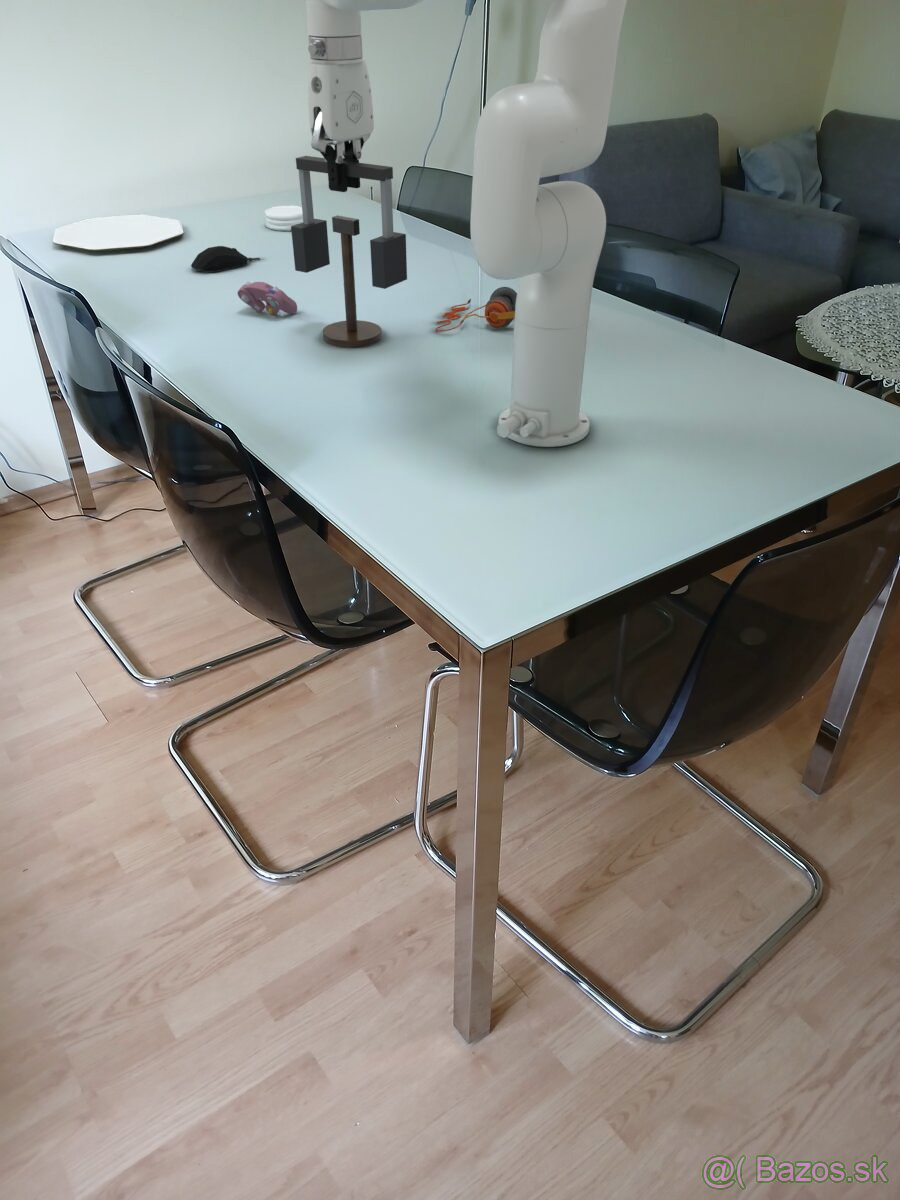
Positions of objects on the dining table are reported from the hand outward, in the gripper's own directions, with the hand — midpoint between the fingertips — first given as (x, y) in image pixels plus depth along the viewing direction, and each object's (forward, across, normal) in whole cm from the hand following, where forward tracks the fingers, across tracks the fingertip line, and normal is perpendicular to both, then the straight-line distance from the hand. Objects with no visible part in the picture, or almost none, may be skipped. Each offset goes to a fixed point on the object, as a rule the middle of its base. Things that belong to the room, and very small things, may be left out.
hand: (344, 187), depth 141 cm
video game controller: (+24, +1, +21) cm, 31 cm away
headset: (+13, 0, 0) cm, 13 cm away
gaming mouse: (+23, +18, +48) cm, 56 cm away
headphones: (+24, +20, -15) cm, 35 cm away
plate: (+23, +20, +83) cm, 88 cm away
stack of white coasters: (+23, +49, +59) cm, 80 cm away
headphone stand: (+24, 0, +1) cm, 24 cm away
